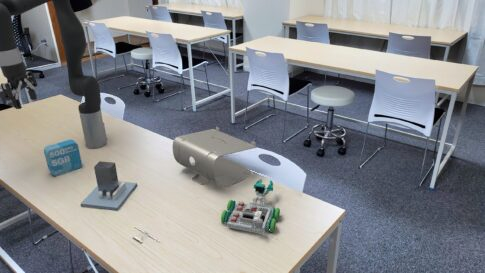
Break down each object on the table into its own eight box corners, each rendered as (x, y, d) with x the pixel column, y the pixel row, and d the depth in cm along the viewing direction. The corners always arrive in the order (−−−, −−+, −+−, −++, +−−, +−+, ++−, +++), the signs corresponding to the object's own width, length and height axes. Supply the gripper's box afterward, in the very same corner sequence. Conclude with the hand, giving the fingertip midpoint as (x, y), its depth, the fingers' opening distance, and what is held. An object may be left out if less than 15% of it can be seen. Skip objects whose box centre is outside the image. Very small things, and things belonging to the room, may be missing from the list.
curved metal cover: (173, 172, 154) (170, 138, 147) (214, 152, 169) (213, 120, 163) (216, 196, 138) (214, 159, 131) (257, 172, 154) (258, 138, 147)
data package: (53, 177, 150) (46, 151, 145) (49, 173, 153) (42, 147, 148) (82, 167, 157) (77, 141, 152) (78, 163, 160) (73, 138, 155)
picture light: (162, 243, 116) (162, 238, 115) (151, 251, 113) (150, 246, 112) (134, 225, 123) (133, 220, 122) (123, 233, 120) (122, 227, 119)
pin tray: (103, 182, 146) (102, 174, 145) (137, 185, 144) (136, 177, 143) (81, 206, 132) (79, 197, 131) (117, 210, 130) (116, 201, 128)
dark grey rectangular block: (104, 189, 140) (99, 161, 135) (119, 190, 139) (115, 162, 134) (99, 195, 136) (93, 166, 131) (114, 196, 135) (109, 168, 130)
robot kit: (287, 197, 138) (288, 175, 134) (272, 241, 116) (273, 217, 112) (239, 189, 143) (239, 168, 139) (216, 230, 121) (215, 206, 117)
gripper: (6, 68, 125) (22, 112, 133) (33, 55, 137) (47, 96, 145) (-14, 68, 126) (4, 111, 134) (15, 56, 139) (30, 96, 146)
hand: (26, 103), depth 139 cm, fingers open, 8 cm apart
